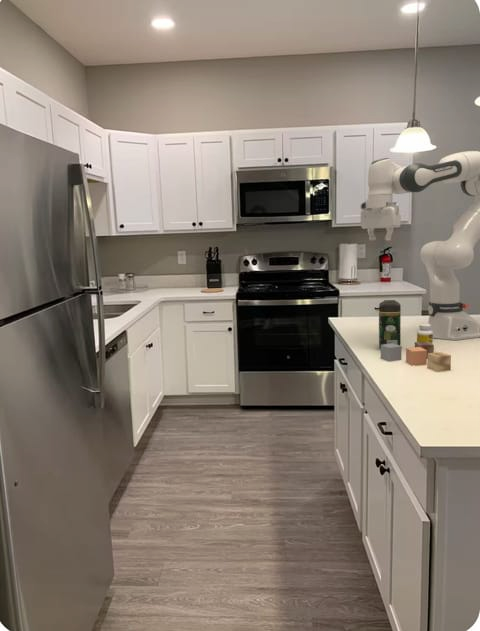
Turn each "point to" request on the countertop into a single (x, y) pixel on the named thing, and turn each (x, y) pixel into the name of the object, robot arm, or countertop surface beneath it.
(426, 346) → the walnut cube
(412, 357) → the terracotta cube
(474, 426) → the countertop surface
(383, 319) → the coffee jar
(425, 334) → the supplement bottle
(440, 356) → the oak cube
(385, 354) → the grey cube
